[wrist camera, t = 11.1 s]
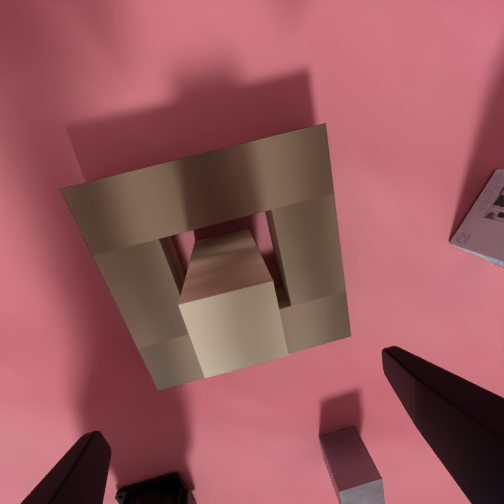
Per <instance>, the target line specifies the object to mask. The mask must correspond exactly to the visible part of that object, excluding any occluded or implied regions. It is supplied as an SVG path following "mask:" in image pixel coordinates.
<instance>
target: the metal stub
mask: <svg viewBox="0 0 504 504" xmlns="http://www.w3.org/2000/svg"><path fill="white" fill-rule="evenodd" d="M319 440H320V444H321V449H322V453H323V457H324V461H325V464H326V467H327V470H328V473H329V475H330V478H331V481H332V484H333V487H334V489H335V492H336V495H337V498H338V501H339V504H385V501H384V492H383V483H382V477H381V476H380V474H379V472H378V470H377V468H376V466H375V464H374V462H373V460H372V458H371V456H370V454H369V452H368V450H367V448H366V447H365V445H364V443H363V441H362V439H361V437H360V435H359V433H358V431H357V429H356V427H355V425H354V426H351V427H348V428H345V429H341V430H338V431H335V432H332V433H328V434H325V435H322V436H319Z"/></svg>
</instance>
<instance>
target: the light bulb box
mask: <svg viewBox="0 0 504 504" xmlns="http://www.w3.org/2000/svg"><path fill="white" fill-rule="evenodd" d="M450 244H451V245H453V246H455V247H457V248H459V249H462V250H464V251H466V252H468V253H471V254H473V255H475V256H477V257H480V258H482V259H484V260H487V261H489V262H491V263H494V264H496V265H498V266H501V267H503V268H504V169H497V170H495V172H494V174H493V175H492V177H491V179H490V180H489V182H488V183H487V185H486V186H485V188H484V189H483V191H482V193H481V194H480V196H479V197H478V199H477V200H476V202H475V203H474V205H473V207H472V208H471V210H470V211H469V213H468V214H467V216H466V218H465V219H464V221H463V222H462V224H461V226H460V227H459V229H458V230H457V232H456V233H455V235H454V236H453V238H452V239H451V241H450Z"/></svg>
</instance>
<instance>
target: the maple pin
mask: <svg viewBox="0 0 504 504" xmlns="http://www.w3.org/2000/svg"><path fill="white" fill-rule="evenodd" d="M178 306H179V308H180V311H181V314H182V317H183V319H184V322H185V325H186V328H187V330H188V333H189V336H190V339H191V341H192V344H193V347H194V350H195V352H196V355H197V358H198V361H199V363H200V366H201V369H202V372H203V374H204V377H205V378H208V377H211V376H215V375H219V374H223V373H226V372H230V371H234V370H238V369H241V368H245V367H249V366H252V365H256V364H260V363H264V362H267V361H271V360H275V359H279V358H282V357H286V356H289V355H288V350H287V345H286V341H285V336H284V331H283V326H282V321H281V316H280V312H279V307H278V302H277V297H276V292H275V287H274V282H273V279H272V277H271V275H270V273H269V271H268V269H267V267H266V264H265V262H264V260H263V258H262V256H261V254H260V252H259V250H258V247H257V245H256V243H255V241H254V239H253V237H252V235H251V233H250V230H249V228H247V229H243V230H239V231H235V232H230V233H226V234H222V235H218V236H214V237H210V238H206V239H202V240H198V241H195V244H194V247H193V251H192V255H191V259H190V262H189V266H188V270H187V274H186V278H185V281H184V285H183V289H182V293H181V296H180V300H179V304H178Z"/></svg>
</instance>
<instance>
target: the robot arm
mask: <svg viewBox="0 0 504 504" xmlns="http://www.w3.org/2000/svg"><path fill="white" fill-rule="evenodd" d="M382 362H383V371H384V374H385V376H386V377H387V379H388V381H389V383H390V384H391V386H392V388H393V389H394V391H395V393H396V394H397V396H398V398H399V399H400V401H401V403H402V404H403V406H404V408H405V409H406V411H407V413H408V414H409V416H410V418H411V419H412V421H413V423H414V424H415V426H416V427H417V429H418V430H419V432H420V433H421V435H422V436H423V437H424V439H425V440H426V441H427V443H428V444H429V446H430V447H431V448H432V450H433V451H434V452H435V454H436V455H437V457H438V458H439V459H440V461H441V462H442V463H443V465H444V466H445V468H446V469H447V470H448V472H449V473H450V475H451V476H452V477H453V479H454V480H455V481H456V483H457V484H458V486H459V487H460V488H461V490H462V491H463V492H464V494H465V495H466V497H467V498H468V499H469V501H470V502H471V504H504V398H503V397H501V396H498V395H496V394H494V393H492V392H490V391H488V390H486V389H484V388H482V387H480V386H478V385H476V384H474V383H472V382H470V381H468V380H465V379H463V378H461V377H459V376H457V375H455V374H453V373H451V372H449V371H447V370H445V369H443V368H441V367H439V366H437V365H434V364H432V363H430V362H428V361H426V360H424V359H422V358H420V357H418V356H416V355H414V354H412V353H410V352H408V351H406V350H403V349H401V348H399V347H397V346H391V347H388V348H384V349H383V350H382ZM110 459H111V448H110V446H109V444H108V443H107V441H106V440H105V438H104V437H103V435H102V433H101V432H100V431H93V432H90V433H86V434H84V435H83V436H82V437H81V438H80V439H79V440H78V441H77V442H76V443H75V444H74V445H73V446H72V447H71V449H70V450H69V451H68V452H67V453H66V454H65V455H64V456H63V457H62V458H61V460H60V461H59V462H58V463H57V464H56V465H55V466H54V467H53V468H52V469H51V471H50V472H49V473H48V474H47V475H46V476H45V477H44V478H43V479H42V480H41V482H40V483H39V484H38V485H37V486H36V487H35V488H34V489H33V490H32V492H31V493H30V494H29V495H28V496H27V497H26V498H25V499H24V500H23V501H22V503H21V504H103V499H104V493H105V488H106V482H107V476H108V471H109V465H110ZM115 498H116V500H117V501H118V503H119V504H196V503H195V501H194V499H193V497H192V495H191V493H190V491H189V490H188V489H187V487H186V485H185V483H184V482H183V480H182V478H181V476H180V474H178V473H174V474H170V475H167V476H163V477H160V478H157V479H153V480H150V481H147V482H143V483H140V484H136V485H133V486H130V487H126V488H123V489H120V490H118V491H117V493H116V496H115Z"/></svg>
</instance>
